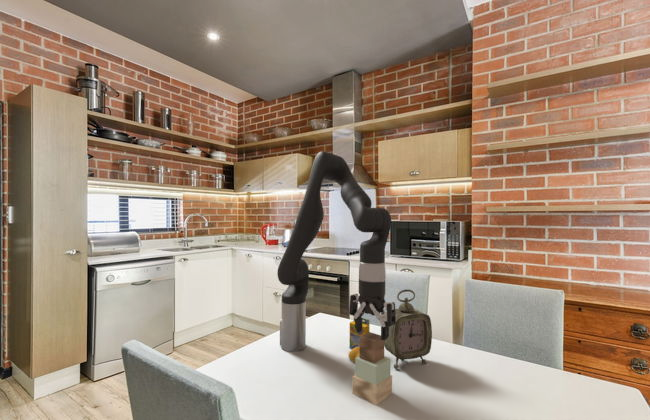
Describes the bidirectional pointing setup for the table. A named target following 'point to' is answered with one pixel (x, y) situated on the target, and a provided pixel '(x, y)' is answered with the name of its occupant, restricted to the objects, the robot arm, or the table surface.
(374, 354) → the walnut block
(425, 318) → the tabletop clock
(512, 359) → the table surface
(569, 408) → the table surface
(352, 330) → the crayon box
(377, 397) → the oak block
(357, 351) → the bread roll
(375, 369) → the sage block
